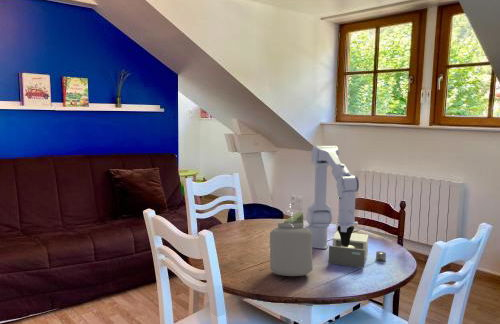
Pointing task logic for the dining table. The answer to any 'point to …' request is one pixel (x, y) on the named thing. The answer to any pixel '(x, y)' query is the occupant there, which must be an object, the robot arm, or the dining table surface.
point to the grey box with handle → (346, 256)
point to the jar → (291, 249)
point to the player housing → (353, 241)
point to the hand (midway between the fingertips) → (345, 246)
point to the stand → (380, 256)
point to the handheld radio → (295, 218)
